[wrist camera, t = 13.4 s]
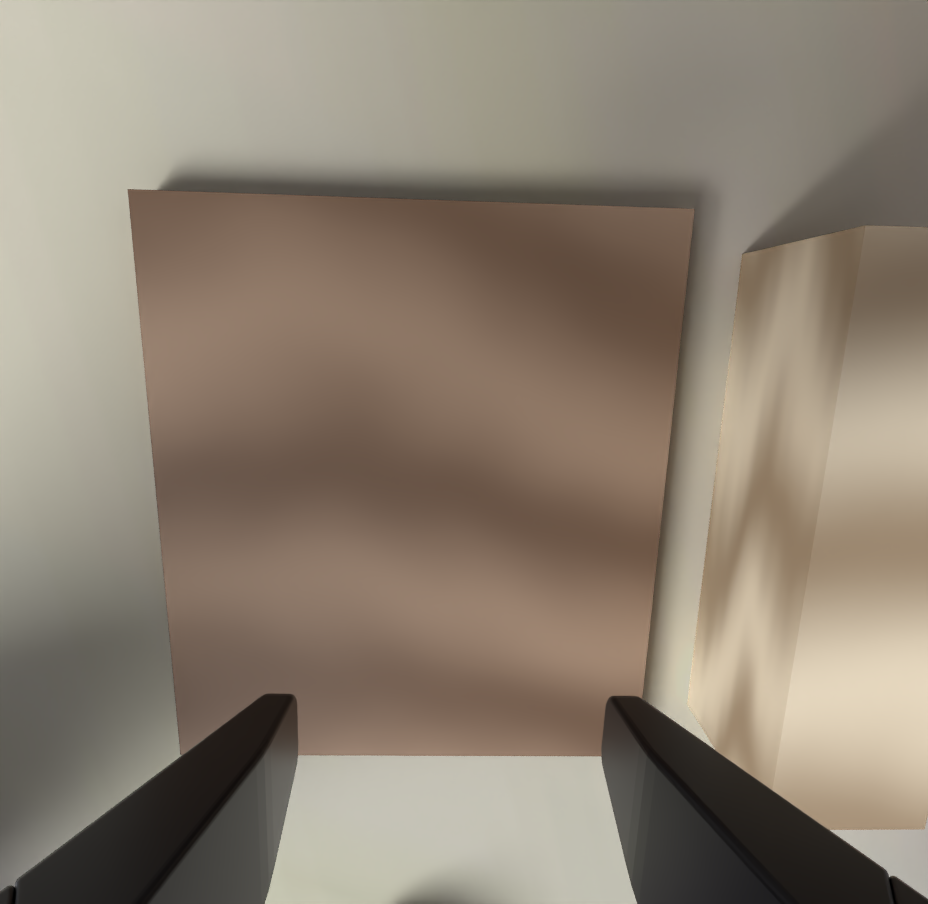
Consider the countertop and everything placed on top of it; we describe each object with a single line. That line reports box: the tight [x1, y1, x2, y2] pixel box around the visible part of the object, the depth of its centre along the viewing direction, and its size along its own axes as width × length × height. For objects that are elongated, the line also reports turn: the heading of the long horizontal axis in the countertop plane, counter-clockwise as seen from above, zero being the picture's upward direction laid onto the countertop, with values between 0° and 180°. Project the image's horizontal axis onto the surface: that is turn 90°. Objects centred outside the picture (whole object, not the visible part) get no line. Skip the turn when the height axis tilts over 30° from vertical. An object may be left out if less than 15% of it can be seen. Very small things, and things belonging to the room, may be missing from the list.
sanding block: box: [687, 225, 928, 830], centre depth 15 cm, size 14×4×5 cm, turn 179°
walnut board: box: [128, 189, 695, 756], centre depth 17 cm, size 16×14×1 cm
